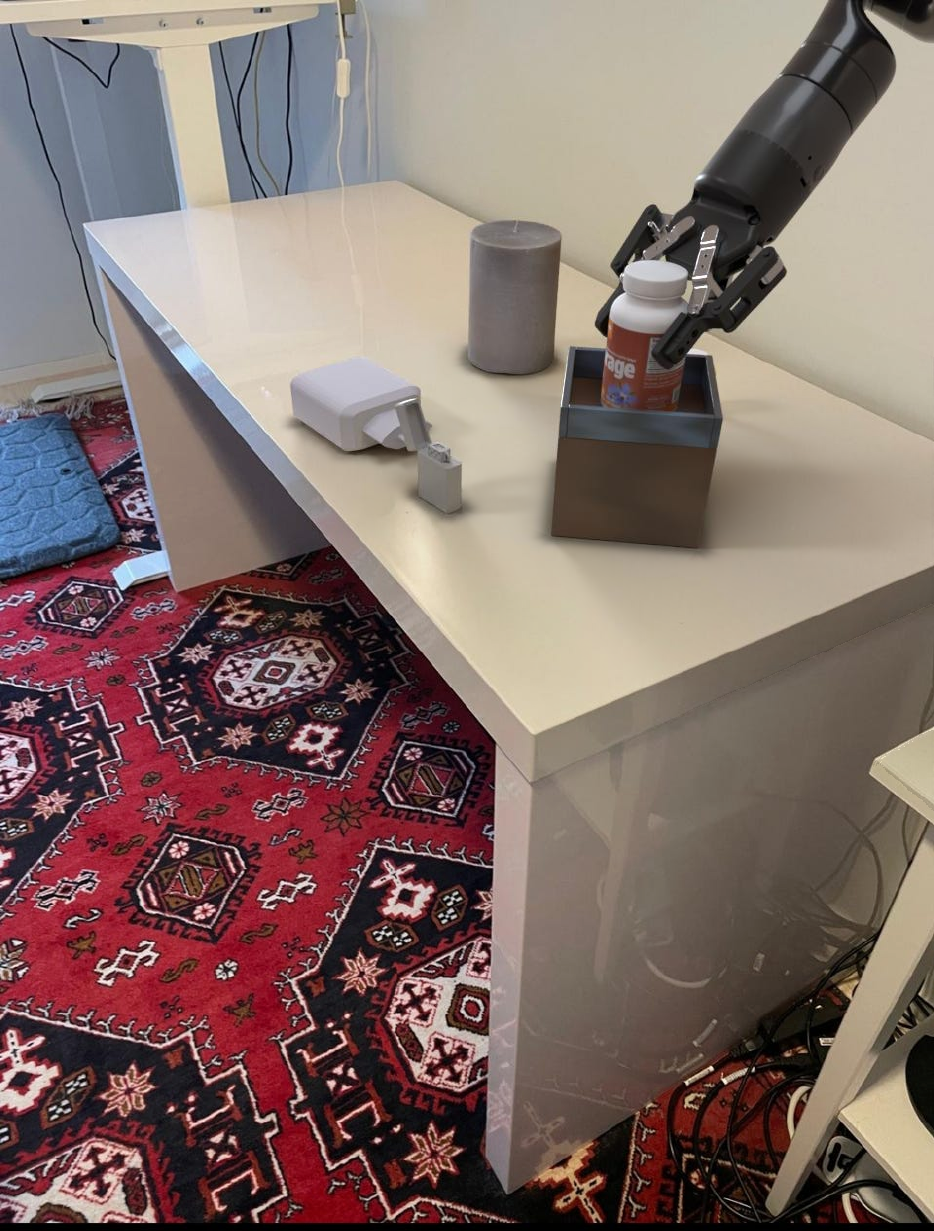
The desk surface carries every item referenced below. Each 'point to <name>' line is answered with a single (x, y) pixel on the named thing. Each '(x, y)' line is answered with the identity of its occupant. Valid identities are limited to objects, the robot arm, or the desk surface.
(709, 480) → the cube pen cup
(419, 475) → the lighter
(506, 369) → the pillar candle
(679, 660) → the desk surface
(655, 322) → the pill bottle
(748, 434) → the desk surface
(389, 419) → the charger
